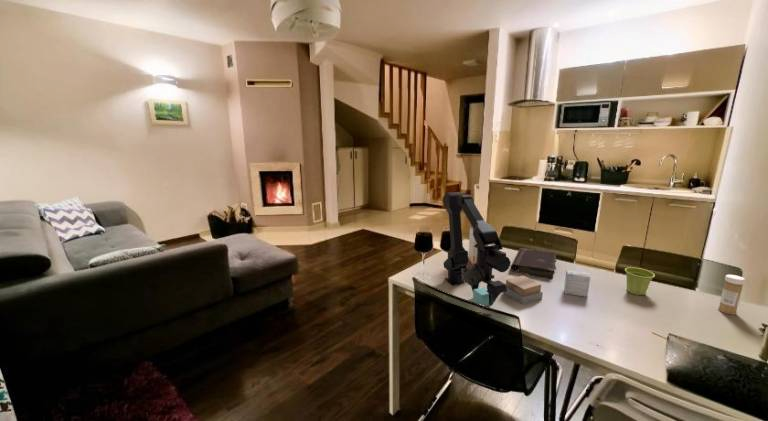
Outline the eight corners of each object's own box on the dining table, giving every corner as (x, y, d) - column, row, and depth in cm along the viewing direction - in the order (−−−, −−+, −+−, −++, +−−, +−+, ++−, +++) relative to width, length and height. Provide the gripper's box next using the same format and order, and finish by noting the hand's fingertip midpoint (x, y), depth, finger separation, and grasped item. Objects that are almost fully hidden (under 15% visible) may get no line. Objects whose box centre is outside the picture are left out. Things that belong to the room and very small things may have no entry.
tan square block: (505, 286, 128) (506, 279, 128) (522, 282, 132) (522, 275, 131) (523, 296, 120) (523, 289, 120) (540, 291, 124) (541, 284, 123)
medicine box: (586, 292, 129) (588, 272, 127) (587, 297, 125) (590, 277, 123) (563, 289, 132) (566, 269, 130) (564, 293, 128) (567, 273, 126)
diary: (509, 273, 150) (510, 262, 149) (518, 256, 171) (518, 247, 170) (554, 280, 140) (555, 270, 139) (557, 261, 161) (558, 252, 160)
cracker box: (487, 270, 151) (490, 228, 147) (475, 270, 151) (477, 228, 147) (479, 259, 165) (481, 220, 160) (467, 259, 165) (469, 220, 160)
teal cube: (472, 301, 123) (473, 289, 122) (483, 298, 125) (484, 287, 124) (481, 307, 119) (481, 295, 118) (491, 304, 121) (492, 292, 120)
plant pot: (651, 291, 129) (655, 271, 127) (649, 300, 122) (653, 279, 120) (623, 284, 135) (626, 265, 133) (620, 292, 128) (623, 272, 126)
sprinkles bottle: (739, 314, 112) (748, 278, 109) (730, 315, 111) (739, 280, 108) (723, 307, 116) (731, 273, 113) (714, 309, 115) (722, 274, 112)
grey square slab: (503, 293, 130) (504, 286, 129) (522, 289, 133) (522, 281, 132) (522, 305, 121) (523, 297, 120) (541, 300, 124) (542, 292, 123)
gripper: (452, 256, 124) (450, 293, 127) (483, 275, 107) (481, 316, 111) (475, 252, 128) (473, 288, 131) (509, 269, 111) (506, 310, 115)
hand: (482, 299), depth 122 cm, fingers open, 9 cm apart
